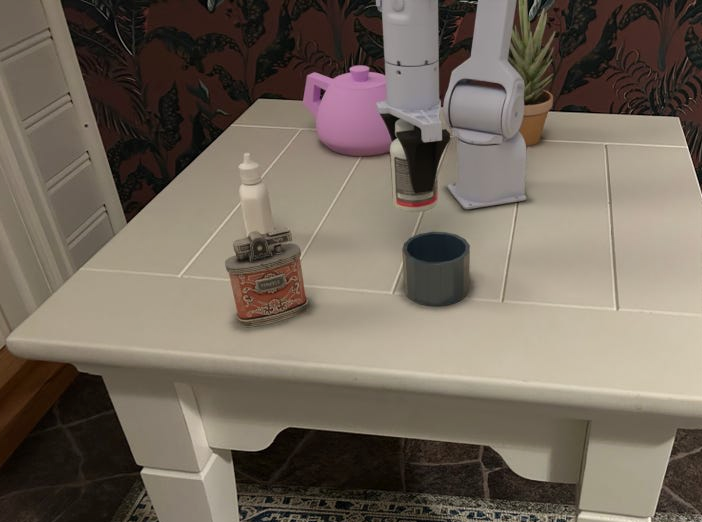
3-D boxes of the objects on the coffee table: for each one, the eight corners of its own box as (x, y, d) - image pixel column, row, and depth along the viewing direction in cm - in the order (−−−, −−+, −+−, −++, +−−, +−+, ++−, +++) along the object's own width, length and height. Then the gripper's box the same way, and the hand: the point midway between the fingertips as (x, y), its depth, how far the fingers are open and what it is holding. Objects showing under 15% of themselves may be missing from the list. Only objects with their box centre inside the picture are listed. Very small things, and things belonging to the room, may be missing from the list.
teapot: (284, 148, 121) (273, 73, 113) (330, 118, 132) (323, 47, 125) (405, 168, 114) (402, 90, 107) (443, 134, 125) (442, 61, 118)
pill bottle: (446, 206, 87) (446, 124, 81) (407, 217, 84) (404, 134, 78) (422, 190, 90) (420, 110, 84) (384, 200, 88) (379, 119, 82)
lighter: (242, 331, 80) (224, 250, 73) (234, 315, 82) (216, 235, 76) (312, 311, 83) (301, 232, 76) (303, 297, 85) (291, 219, 79)
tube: (456, 267, 90) (456, 227, 87) (478, 299, 84) (479, 257, 81) (397, 278, 88) (394, 237, 85) (415, 311, 82) (413, 269, 79)
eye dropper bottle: (235, 249, 94) (217, 160, 87) (260, 230, 98) (245, 143, 91) (264, 256, 93) (248, 165, 85) (288, 236, 97) (275, 148, 89)
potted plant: (495, 127, 128) (501, -30, 113) (550, 130, 127) (563, -29, 112) (490, 149, 120) (495, -17, 105) (548, 152, 119) (562, -15, 104)
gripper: (359, 45, 82) (367, 161, 90) (392, 83, 71) (398, 211, 79) (419, 39, 83) (422, 154, 92) (461, 75, 72) (460, 202, 81)
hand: (415, 180), depth 85 cm, fingers closed on pill bottle, 5 cm apart
